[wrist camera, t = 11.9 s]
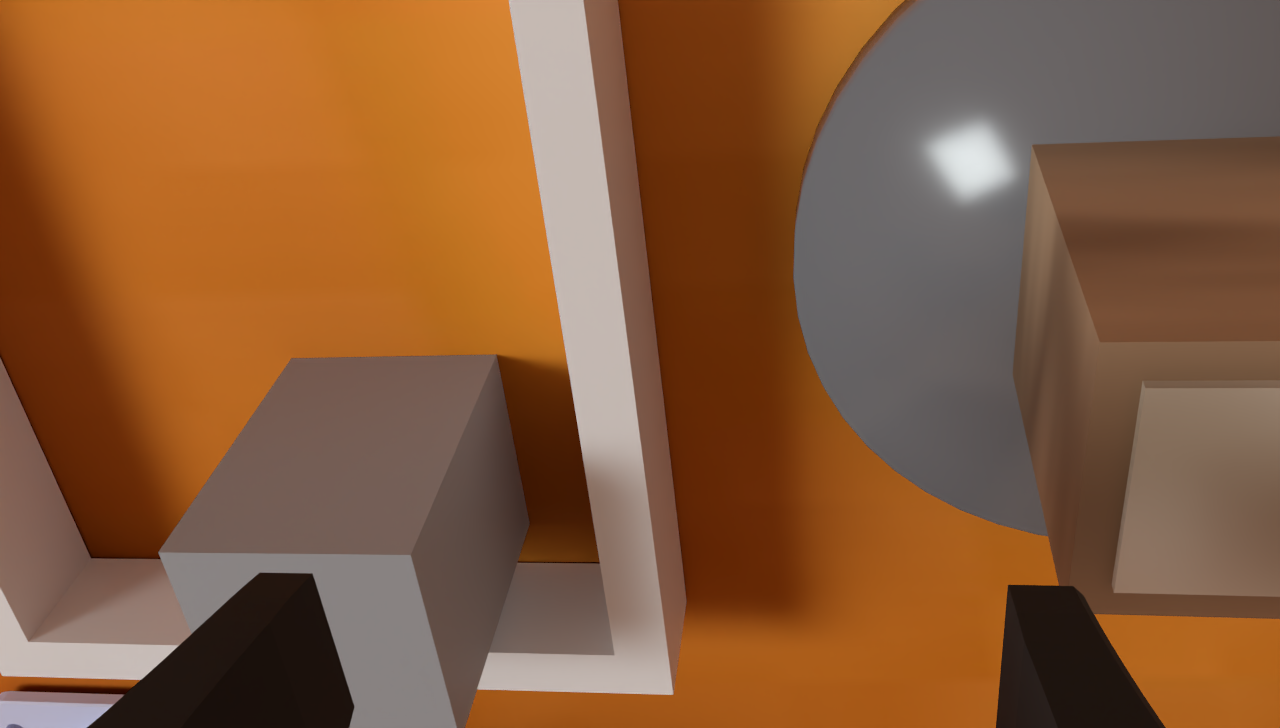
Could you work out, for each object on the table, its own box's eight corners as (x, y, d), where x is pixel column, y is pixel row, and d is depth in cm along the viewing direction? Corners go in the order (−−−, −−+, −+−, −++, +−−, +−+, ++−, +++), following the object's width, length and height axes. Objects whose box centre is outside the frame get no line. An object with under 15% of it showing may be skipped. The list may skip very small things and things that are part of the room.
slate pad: (1439, 507, 21) (1463, 545, 21) (806, 505, 23) (805, 540, 22) (1647, -165, 16) (1692, -150, 15) (780, -96, 17) (777, -80, 17)
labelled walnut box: (1274, 373, 19) (1416, 631, 15) (1011, 374, 20) (1067, 622, 15) (1327, 134, 17) (1512, 347, 12) (1031, 144, 18) (1102, 350, 13)
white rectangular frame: (686, 601, 25) (673, 694, 23) (65, 592, 27) (2, 675, 25) (566, -451, 15) (524, -454, 13) (-372, -326, 18) (-530, -312, 16)
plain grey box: (529, 522, 25) (460, 741, 20) (341, 521, 25) (232, 733, 21) (496, 353, 22) (410, 555, 18) (291, 357, 23) (157, 552, 18)
